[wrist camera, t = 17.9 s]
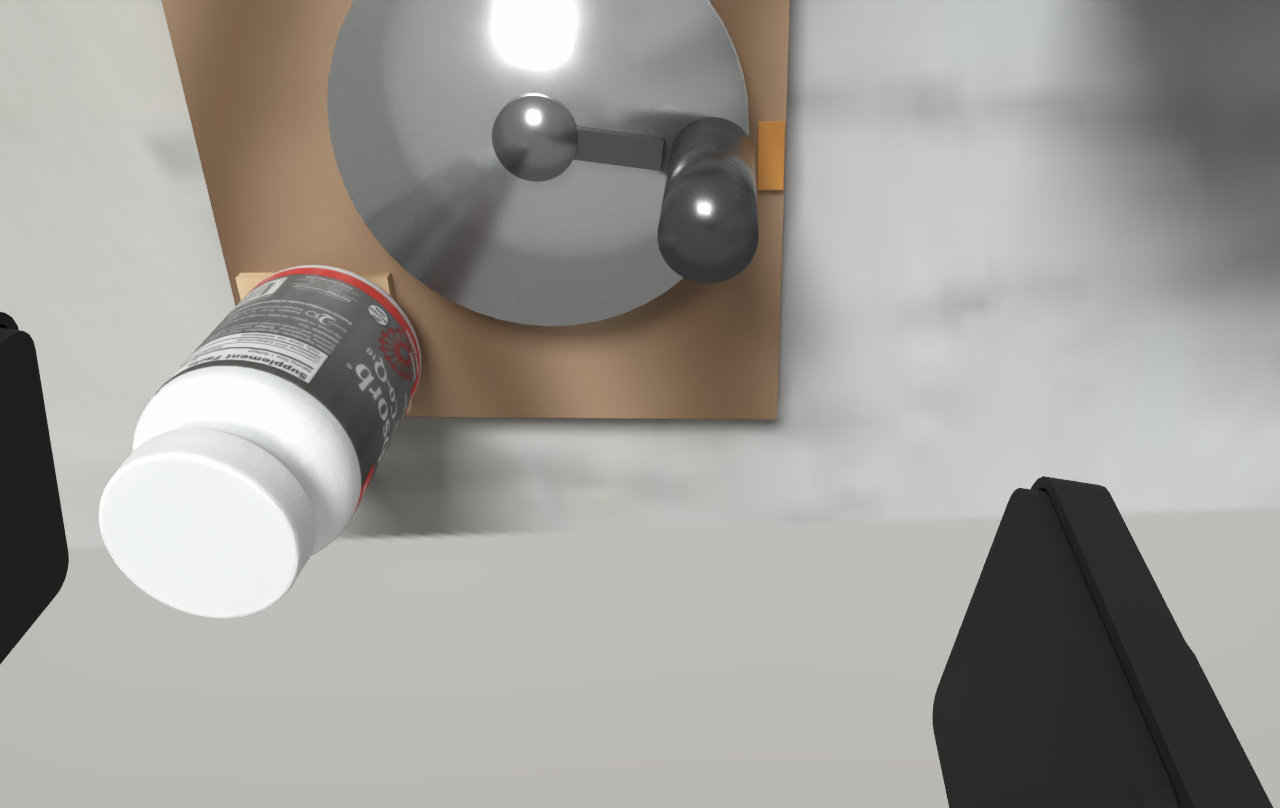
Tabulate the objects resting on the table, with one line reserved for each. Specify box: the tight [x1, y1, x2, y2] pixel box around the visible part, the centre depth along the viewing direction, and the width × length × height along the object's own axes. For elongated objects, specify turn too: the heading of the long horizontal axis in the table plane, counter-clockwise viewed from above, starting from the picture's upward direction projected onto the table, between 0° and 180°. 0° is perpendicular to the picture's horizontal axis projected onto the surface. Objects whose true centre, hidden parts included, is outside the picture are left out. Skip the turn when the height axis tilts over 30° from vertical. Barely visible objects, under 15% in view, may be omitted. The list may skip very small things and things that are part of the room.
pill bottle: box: [99, 265, 421, 618], centre depth 29 cm, size 6×6×10 cm
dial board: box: [162, 0, 790, 419], centre depth 31 cm, size 16×16×2 cm
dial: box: [327, 0, 759, 326], centre depth 27 cm, size 11×11×6 cm
